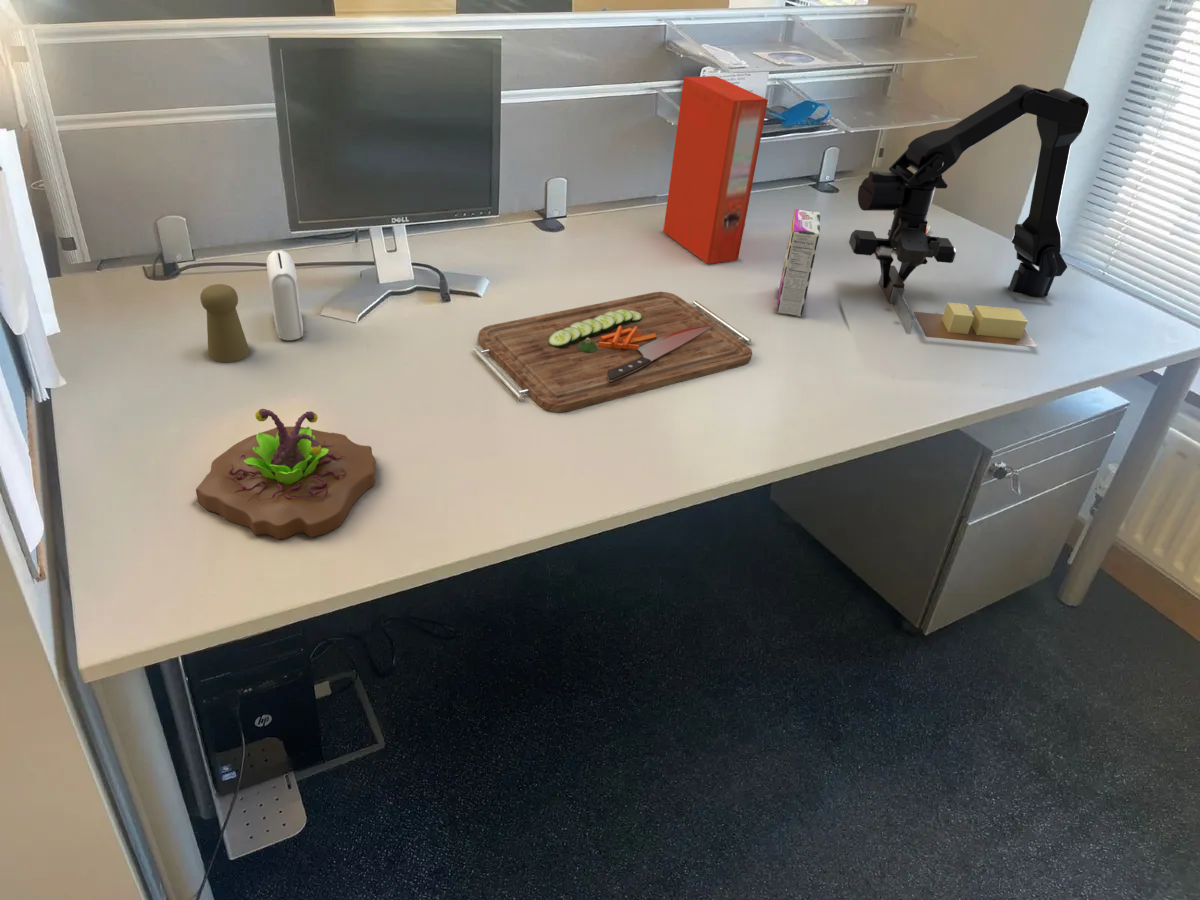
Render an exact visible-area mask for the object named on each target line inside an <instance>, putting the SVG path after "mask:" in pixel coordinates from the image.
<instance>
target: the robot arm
mask: <svg viewBox="0 0 1200 900" xmlns="http://www.w3.org/2000/svg"><path fill="white" fill-rule="evenodd" d="M1089 113H1090V104H1089V102H1087V100H1086V99H1085V98H1084V97H1082V96H1079V95H1077V94H1075V93H1072V92H1070V91H1068V90H1065V89H1063V88H1060V87H1059V88H1052V89H1050V90H1044V89H1042V88H1037V87H1031V86H1029V85H1026V84H1023V83H1020V84H1016V85H1014V86H1012V87H1011V88H1010V89H1009V91H1008V92H1006V93H1005V94H1003V95H1001V96H999V97H998V98H996V99H994V100H993V101H992V102H990V103H988V104H987V105H985V106H982V108H979V109H978V110H976V111H975V112H973V113H972V114H970V115H968V116H967V117H965V118H963V119H962V120H960V121H959V122H956V123H955V124H953V125H951V126H949V127H946V128H941V129H935V130H931V131H930V132H928V133H924V134H923V135H920V136H918V137H916V138H914V139H913V140H912V141H911V142H910V143H909V144H908V146H907V149H906V150H905V151H904V152H903V153H901V156H899V158H897V159H896V160H895V161H894V162H893V163H892V164H891V165H890V167H889V168H888V171H887V172H883V171H877V170H870V171H869V172H868V176H867V177H865V178H864V179H863V180H862V182H861V184H860V185H859V187H858V192H857V204H858V206H859V209H860V210H861V211H863V212H864V211H865V212H867V211H869V212H871V211H872V212H875V211H876V212H879V211H880V212H881V211H883V212H885V211H886V212H887V211H889V212H892V211H893V213H892V214H893V219H892V223H891V225H890V229H888V231H887V236H888V237H887V238H882V237H877V236H876V234H875V232H874V231H872V230H863V229H862V230H861V229H854V230H853V231H852V232H851V234H850V237H849V242H848V244H849V246H850V249H851V250H852V252H853V254H855V255H859V256H860V255H861V256H873V255H875V258H876V259H877V260H878V262H879V265H880V276H881V277H882V286H883V288H886V285H887V282H888V277H889V272H890V266H891V265H892V264H893V262H894V258H893V256H892V255H893V251H896V260H897V261H898V262H900V263H901V265H900V266H899V270H898V273H899V275H900V277H901V279H902V281H903V282H904V283H905V282H906V280H907V279H908V277H909V276H910V275H911V273H912V272H913V271H914V270H915V269H916V268H917V267H919V266H921V265H927V264H928V260H927V258H929V259H933V258H934V259H935V261H936V262H937V263H947V264H952V263H954V261H955V258H956V253H957V250H956V248H955V246H954V245H953V243H952V242H951V240H950V239H949V238H948V237H939V236H931V235H927V234H926V228H927V225H928V221H927V219H928V216H929V212H930V209H931V205H932V202H933V199H934V195H935V192H936V189H941V190H942V189H943V190H944V189H945V190H946V189H948V187H949V185H948V184H947V182H946V181H945V179H944V178H943V174H945V173H946V172H947V171H948V170H949V169H951V168H952V167H954V165H955V164H957V162H958V161H959V159H960V158H961V156H962V155H963V154H964V152H966V151H967V150H968V149H970V148H971V147H973V146H975V145H976V144H979V143H980V142H982V141H983V140H985V139H986V138H989V137H990V136H991V135H994V134H995V133H997V132H998V131H1000V130H1002V129H1003V128H1005V127H1007V126H1008V125H1010V124H1011V123H1013V122H1015V121H1017V120H1018V119H1020V118H1021V117H1023V116H1025V115H1027V114H1030V115H1034V116H1036V128H1037V131H1038V135H1039V138H1040V145H1041V146H1040V150H1039V154H1038V162H1037V166H1036V167H1037V168H1036V172H1035V179H1034V185H1033V190H1032V196H1031V202H1030V205H1029V206H1030V207H1029V212H1028V216H1027V217H1026V218H1025V220H1024V221H1022V223H1016V224H1015V225H1014V234H1013V238H1012V240H1011V243H1012V244H1013V247H1014V250H1015V251H1016V260H1018V261H1020V263H1019V265H1018V268H1017V269H1015V270H1014V272H1013V274H1012V277H1011V280H1010V283H1009V285H1007V286H1006V289H1007V290H1011V291H1012V293H1016V294H1021V295H1024V296H1027V297H1031V298H1042V297H1046V296H1047V297H1048V296H1049V292H1050V290H1051V288H1052V286H1053V282H1054V280H1055V278H1056V277H1062V275H1063V274H1064V273H1065V271H1066V270H1067V269H1068V265H1067V263H1066V262H1065V260H1064V258H1063V256H1062V255H1061V251H1062V234H1061V233H1062V232H1061V229H1060V226H1059V223H1058V214H1059V210H1060V209H1059V208H1060V203H1061V198H1062V194H1063V193H1062V192H1063V187H1064V184H1065V177H1066V173H1067V167H1068V162H1069V156H1070V151H1071V147H1072V144H1073V143H1074V142H1075V141H1076V139H1078V137H1079V136H1080V134H1082V132H1083V130H1084V127H1085V123H1086V121H1087V119H1088V115H1089ZM908 168H911V169H913V170H914V171H916V172H915V173H914V172H913V171H912V170H910V169H908Z"/></svg>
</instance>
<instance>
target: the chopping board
mask: <svg viewBox="0 0 1200 900" xmlns="http://www.w3.org/2000/svg"><path fill="white" fill-rule="evenodd" d="M697 308H698V309H697ZM701 311H702V312H701ZM704 313H705V314H706V315H705V314H704ZM708 316H709V317H708ZM711 318H712V319H713V320H712V319H711ZM714 320H715V321H716V322H715V321H714ZM718 323H719V324H720V325H719V324H718ZM721 325H722V326H723V327H722V326H721ZM725 328H726V329H725ZM728 330H729V331H730V332H729V331H728ZM731 332H732V333H733V334H735V335H736V336H735V335H733V334H732V333H731ZM477 334H478V335H477V337H478V339H477V340H478V343H479V345H480V346H481V348H482V349H483V350H480V349H479V348H478V347H477V346H476V347H474V348H473V349H472V350H473V352H474V353H475V355H476V356H478V358H479V359H480V360H481V361H482V362H483V363H484V364H485V365H486V366H487V367H488V368H489V369H490V370H491V371H492V372H493V373H494V374H495V376H496V377H497V378H498V379H499V380H500V381H501V382H502V383H503V384H504V385H505V386H506V387H507V388H508V389H509V391H510V392H511V393H512V394H513V395H514V396H515V397H516V398H517V399H518V400H519V401H521V400H523V399H524V395H523V394H527V395H528V396H529V397H530V398H531V400H532V401H534V403H535V404H536V405H538V406H539V407H540V408H542V409H543V410H546V411H549V412H554V413H555V412H556V413H564V412H565V413H566V412H571V411H574V410H577V409H581V408H585V407H590V406H593V405H598V404H601V403H605V402H609V401H612V400H616V399H621V398H624V397H627V396H631V395H635V394H640V393H642V392H643V393H644V392H646V391H651V390H655V389H658V388H662V387H666V386H670V385H674V384H678V383H680V382H685V381H689V380H692V379H697V378H700V377H704V376H708V375H711V374H715V373H720V372H723V371H727V370H732V369H734V368H738V367H742V366H745V365H747V364H749V363H750V362H751V360H752V355H753V351H752V348H751V347H750V346H749V345H747V344H750V343H751V342H752V339H751V338H750V337H748V336H747V335H745V333H743V332H742V331H740V330H738V328H735V327H734V326H732V325H731V324H730V323H728V322H727V321H725V319H723V318H721V317H719V316H718V315H717V314H716V313H714V312H713V311H711V310H709V308H707V307H705V306H704V305H703V304H701V303H699V302H698V301H697V300H694V301H693V302H692V305H691V304H690V303H689V302H687V301H686V300H684V299H683V298H682V297H680V296H679V295H677V294H676V293H675V294H674V293H672V292H667V291H653V292H649V293H643V294H639V295H634V296H630V297H629V296H628V297H623V298H619V299H615V300H614V299H613V300H607V301H604V302H599V303H593V304H588V305H585V306H579V307H574V308H570V309H564V310H559V311H553V312H549V313H544V314H539V315H535V316H529V317H523V318H519V319H515V320H510V321H505V322H500V323H493V324H490V325H487V326H484V327H482V328H481V329H480V330H479V331H478V333H477ZM485 354H488V355H489V356H490V357H491V358H492V359H493V360H494V361H495V362H496V363H497V364H498V365H499V366H500V367H501V368H502V369H503V370H504V371H505V372H506V373H507V374H508V376H510V377H511V379H512V380H513V381H514V382H515V383H516V384H517V385H518V386H519V387H520V388H521V389H522V390H518V389H517V388H516V387H515V386H514V385H513V384H512V382H510V380H509V379H508V378H507V377H506V376H505V375H504V374H503V373H502V372H501V371H500V370H499V369H498V367H496V366H495V365H494V363H493V362H491V360H490V359H489V358H487V356H486V355H485Z"/></svg>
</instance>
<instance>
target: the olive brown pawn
mask: <svg viewBox="0 0 1200 900" xmlns="http://www.w3.org/2000/svg"><path fill="white" fill-rule="evenodd" d="M199 298H200V303H201V305H202V308H203V309H204V310H205V311H206V330H207V333H206V334H207V354H208V358H209V359H210V360H212V361H214V362H217V363H235V362H238V361H241V360H243V359H246V358H247V357H248V356H249V355H250V352H251V350H250V347H249V345H248V341H247V338H246V335H245V332H244V329H243V327H242V323H241V320H240V317H239V314H238V311H237V306H238V304H239V296H238V292H237V291H236V289H235V288H234V287H232V286H231V285H229V284H224V283H215V284H211V285H208V286H206V287H204V288H203V289H202V291H201V292H200V297H199Z"/></svg>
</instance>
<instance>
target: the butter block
mask: <svg viewBox="0 0 1200 900" xmlns="http://www.w3.org/2000/svg"><path fill="white" fill-rule="evenodd" d="M972 314H973V316H974V318H973V321H972V324H971V326H972V328H973V329H974V331H975V333H976V334H977V335H983V336H994V337H1004V338H1015V339H1021V337H1022V334H1023V331H1024V329H1025V330H1026V326H1027V325H1028V320H1027V318H1026V317H1025V315H1023V313H1022V312H1021V310H1020V309H1019V308H1012V307H999V306H989V305H980V304H975V305H974V307H973V310H972Z"/></svg>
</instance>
